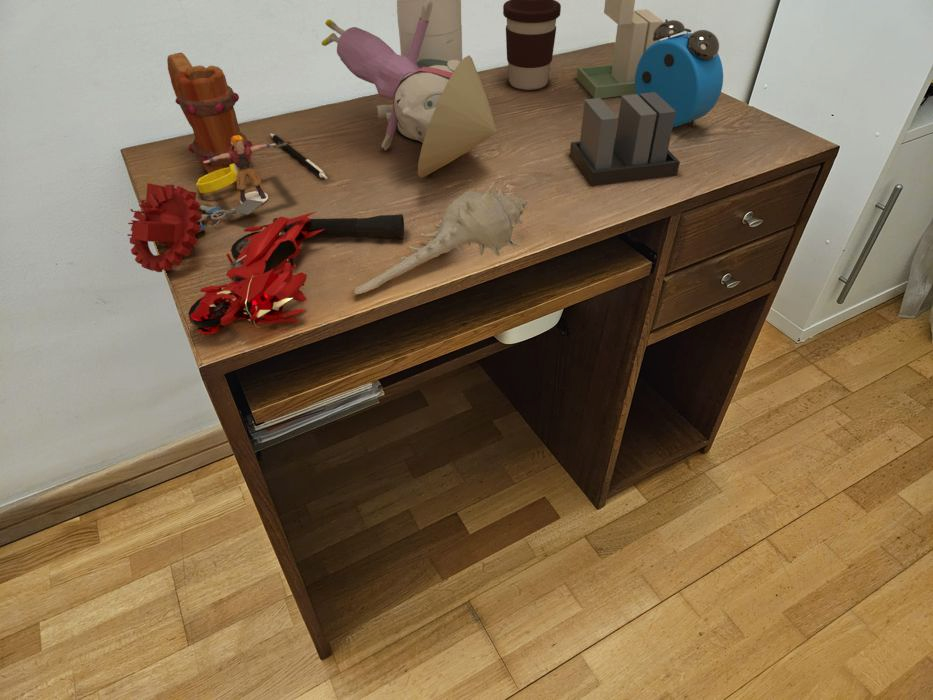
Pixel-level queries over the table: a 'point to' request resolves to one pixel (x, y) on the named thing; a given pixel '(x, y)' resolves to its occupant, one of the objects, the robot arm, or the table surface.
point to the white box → (620, 10)
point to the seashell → (463, 231)
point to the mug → (206, 109)
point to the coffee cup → (530, 41)
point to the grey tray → (622, 168)
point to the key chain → (229, 211)
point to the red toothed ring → (165, 226)
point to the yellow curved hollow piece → (217, 179)
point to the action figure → (246, 167)
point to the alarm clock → (682, 71)
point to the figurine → (421, 93)
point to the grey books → (627, 130)
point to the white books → (633, 44)
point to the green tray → (603, 82)
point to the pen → (301, 158)
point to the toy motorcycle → (257, 278)
